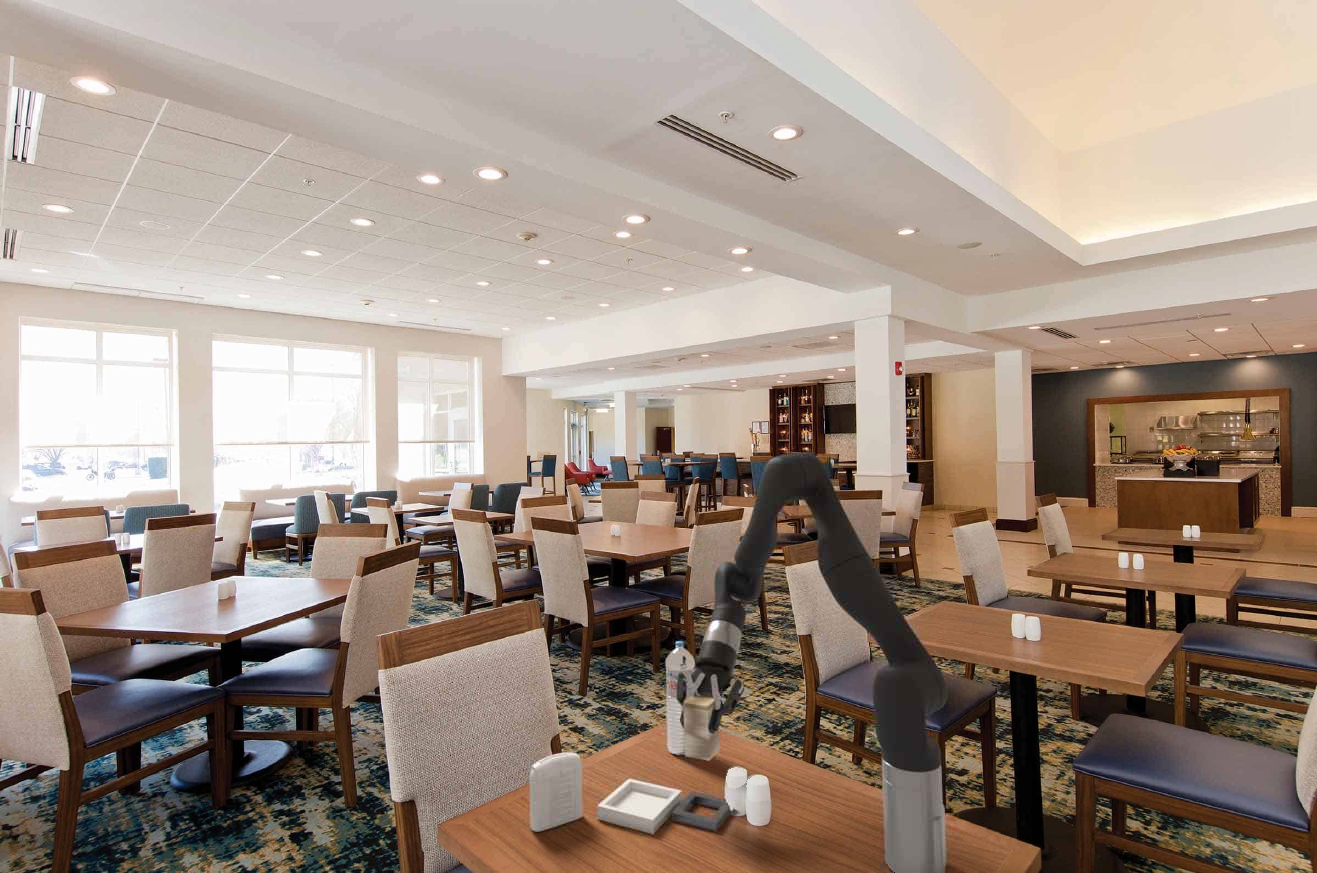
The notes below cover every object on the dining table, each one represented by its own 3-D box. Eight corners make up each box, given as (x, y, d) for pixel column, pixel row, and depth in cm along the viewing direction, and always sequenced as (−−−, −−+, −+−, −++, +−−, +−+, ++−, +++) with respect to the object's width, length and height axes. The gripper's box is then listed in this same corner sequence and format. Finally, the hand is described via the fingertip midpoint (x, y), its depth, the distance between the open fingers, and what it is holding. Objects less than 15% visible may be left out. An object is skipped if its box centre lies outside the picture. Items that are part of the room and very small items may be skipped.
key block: (719, 750, 130) (717, 697, 131) (709, 760, 126) (707, 706, 126) (696, 746, 133) (694, 694, 133) (685, 756, 128) (683, 702, 129)
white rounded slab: (576, 809, 132) (575, 744, 133) (586, 818, 129) (585, 752, 129) (526, 825, 127) (525, 758, 127) (535, 836, 123) (534, 767, 124)
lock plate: (734, 808, 131) (733, 800, 131) (716, 832, 123) (715, 823, 123) (691, 798, 135) (691, 791, 135) (671, 820, 127) (671, 812, 127)
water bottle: (662, 747, 159) (660, 640, 160) (688, 742, 162) (685, 636, 163) (675, 759, 153) (672, 647, 154) (702, 753, 156) (699, 643, 157)
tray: (681, 803, 133) (681, 790, 133) (653, 834, 123) (652, 820, 123) (629, 791, 139) (628, 778, 139) (597, 819, 128) (597, 805, 128)
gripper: (682, 635, 140) (657, 714, 129) (747, 642, 133) (727, 726, 122) (694, 654, 145) (670, 732, 133) (757, 662, 138) (738, 744, 127)
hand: (697, 729), depth 128 cm, fingers closed on key block, 5 cm apart
